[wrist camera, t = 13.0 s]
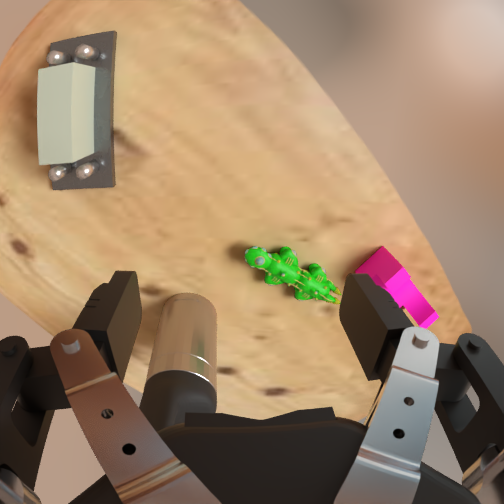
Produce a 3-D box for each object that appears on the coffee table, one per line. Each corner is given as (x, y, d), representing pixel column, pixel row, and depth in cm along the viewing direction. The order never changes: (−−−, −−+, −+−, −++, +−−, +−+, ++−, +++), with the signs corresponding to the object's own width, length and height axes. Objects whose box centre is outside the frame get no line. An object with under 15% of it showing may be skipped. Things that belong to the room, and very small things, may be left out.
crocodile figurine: (256, 224, 47) (259, 236, 43) (347, 278, 52) (356, 292, 48) (232, 259, 49) (233, 274, 45) (323, 307, 54) (329, 322, 50)
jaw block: (95, 67, 33) (73, 62, 27) (94, 152, 38) (72, 162, 32) (63, 72, 33) (38, 69, 27) (63, 155, 38) (39, 165, 32)
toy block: (354, 270, 51) (371, 295, 45) (382, 245, 50) (403, 266, 43) (395, 315, 57) (412, 340, 50) (419, 294, 55) (439, 316, 48)
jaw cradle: (115, 185, 42) (103, 195, 37) (56, 188, 41) (40, 198, 36) (116, 32, 32) (103, 24, 28) (54, 44, 32) (36, 39, 27)
